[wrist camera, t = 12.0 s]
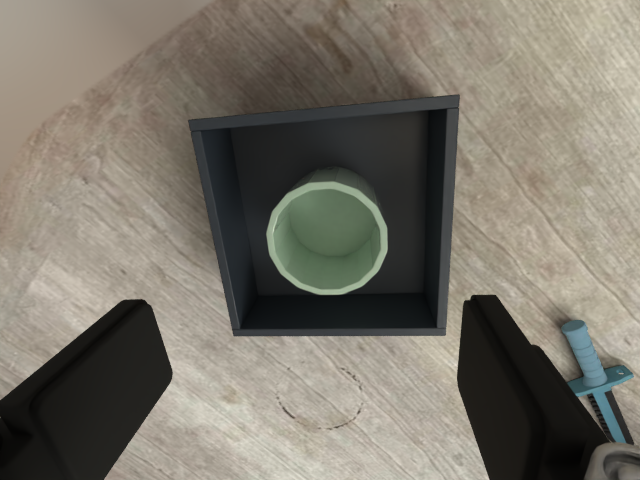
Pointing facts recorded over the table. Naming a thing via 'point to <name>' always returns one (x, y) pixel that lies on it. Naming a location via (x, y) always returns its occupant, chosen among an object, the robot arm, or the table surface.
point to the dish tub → (368, 161)
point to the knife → (598, 382)
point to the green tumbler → (328, 232)
